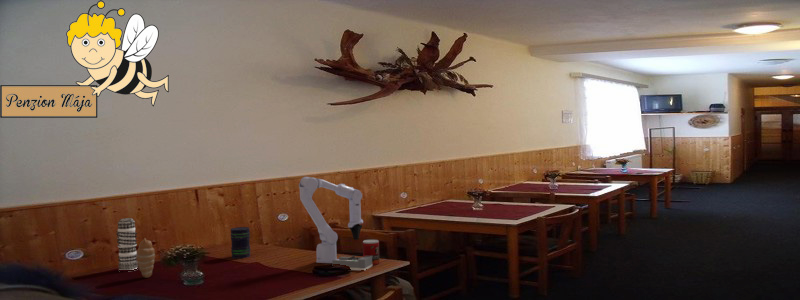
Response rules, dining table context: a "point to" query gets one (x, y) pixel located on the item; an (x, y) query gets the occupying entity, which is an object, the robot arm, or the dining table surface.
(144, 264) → the tan ridged cocoon
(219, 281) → the dining table surface
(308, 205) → the robot arm
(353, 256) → the plunger
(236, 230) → the storage jar
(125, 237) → the decorative candle
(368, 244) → the canned food
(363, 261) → the gauge housing
